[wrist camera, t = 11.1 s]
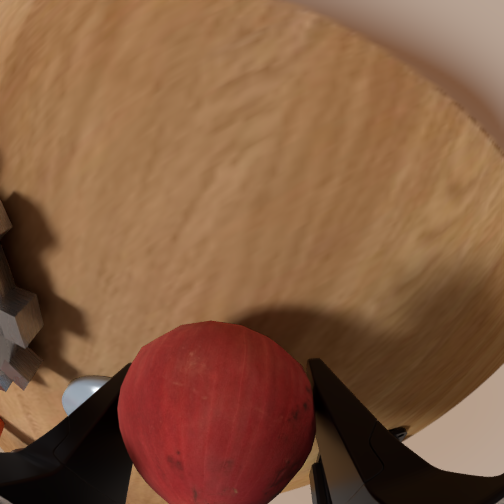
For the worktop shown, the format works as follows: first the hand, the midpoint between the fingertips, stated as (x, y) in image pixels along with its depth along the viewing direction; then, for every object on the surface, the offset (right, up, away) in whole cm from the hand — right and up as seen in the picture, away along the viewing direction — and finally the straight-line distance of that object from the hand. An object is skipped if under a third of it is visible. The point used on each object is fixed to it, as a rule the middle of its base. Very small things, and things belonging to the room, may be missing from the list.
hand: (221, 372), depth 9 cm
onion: (0, +1, +2) cm, 2 cm away
